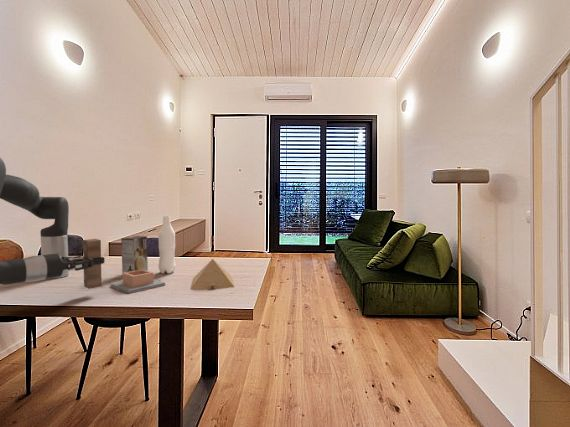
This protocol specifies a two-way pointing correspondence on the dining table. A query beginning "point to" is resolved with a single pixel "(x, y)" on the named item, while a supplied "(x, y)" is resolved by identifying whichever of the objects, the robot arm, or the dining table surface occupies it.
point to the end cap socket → (137, 281)
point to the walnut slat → (94, 273)
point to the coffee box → (134, 253)
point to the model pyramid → (212, 277)
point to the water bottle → (166, 247)
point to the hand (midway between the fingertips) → (100, 259)
